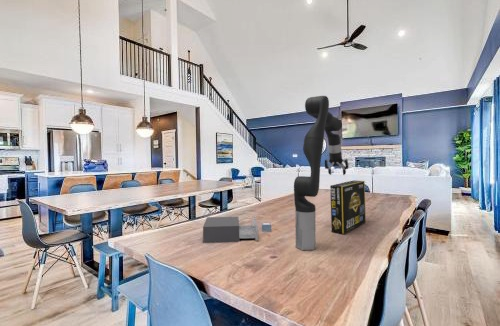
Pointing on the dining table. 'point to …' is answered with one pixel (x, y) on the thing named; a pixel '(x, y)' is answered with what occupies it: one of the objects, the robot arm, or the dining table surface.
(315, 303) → the dining table surface
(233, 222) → the housing
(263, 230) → the cartridge
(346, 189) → the box
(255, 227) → the tray
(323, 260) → the dining table surface
